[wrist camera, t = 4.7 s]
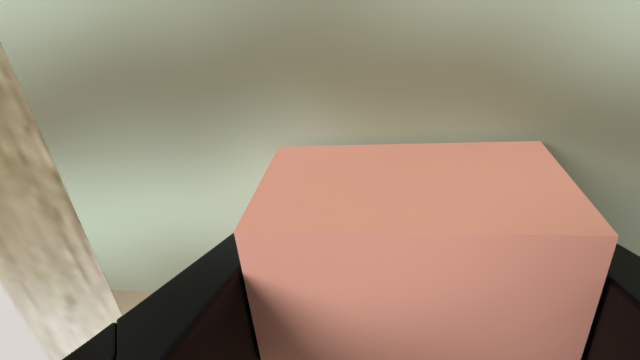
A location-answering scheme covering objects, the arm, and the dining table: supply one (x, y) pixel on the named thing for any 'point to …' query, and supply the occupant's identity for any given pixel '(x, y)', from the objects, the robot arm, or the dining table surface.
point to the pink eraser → (422, 254)
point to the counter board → (308, 102)
